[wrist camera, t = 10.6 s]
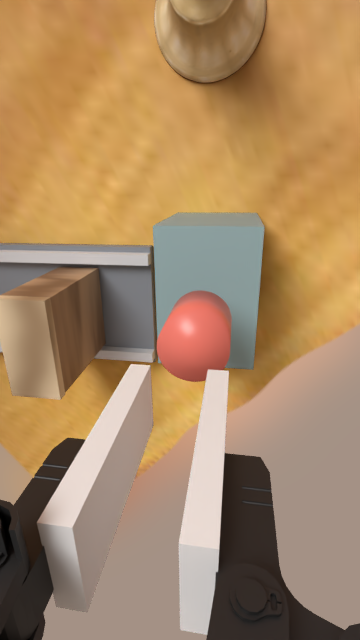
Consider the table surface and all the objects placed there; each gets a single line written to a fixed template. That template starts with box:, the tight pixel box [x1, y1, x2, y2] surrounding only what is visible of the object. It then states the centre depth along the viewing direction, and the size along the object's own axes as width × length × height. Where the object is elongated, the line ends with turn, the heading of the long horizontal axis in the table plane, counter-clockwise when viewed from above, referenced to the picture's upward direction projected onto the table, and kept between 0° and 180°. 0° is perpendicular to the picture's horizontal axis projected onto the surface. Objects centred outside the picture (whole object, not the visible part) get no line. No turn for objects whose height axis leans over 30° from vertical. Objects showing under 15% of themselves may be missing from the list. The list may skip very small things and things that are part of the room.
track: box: [0, 243, 157, 362], centre depth 36 cm, size 22×12×2 cm, turn 91°
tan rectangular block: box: [0, 267, 106, 400], centre depth 30 cm, size 4×8×10 cm, turn 1°
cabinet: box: [153, 213, 264, 370], centre depth 28 cm, size 7×11×10 cm, turn 1°
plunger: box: [157, 290, 232, 382], centre depth 19 cm, size 4×4×4 cm
